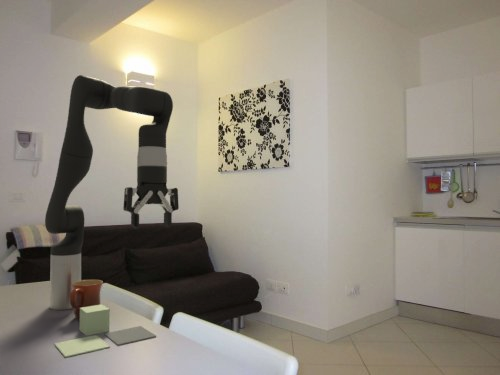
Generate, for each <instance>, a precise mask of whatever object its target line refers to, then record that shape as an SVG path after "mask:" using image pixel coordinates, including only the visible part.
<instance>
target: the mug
mask: <svg viewBox="0 0 500 375" xmlns="http://www.w3.org/2000/svg"><path fill="white" fill-rule="evenodd" d="M103 283H104V281H103V280H101V279H81V281H76V282H73V283H72V287H73V290H72V291H71V293H70V304H71V306H72V309H73V314H74V317H75V318H76V319H78V320H80V308H82V307H89V306H95V305H101V291H102V287H103Z"/></svg>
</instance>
